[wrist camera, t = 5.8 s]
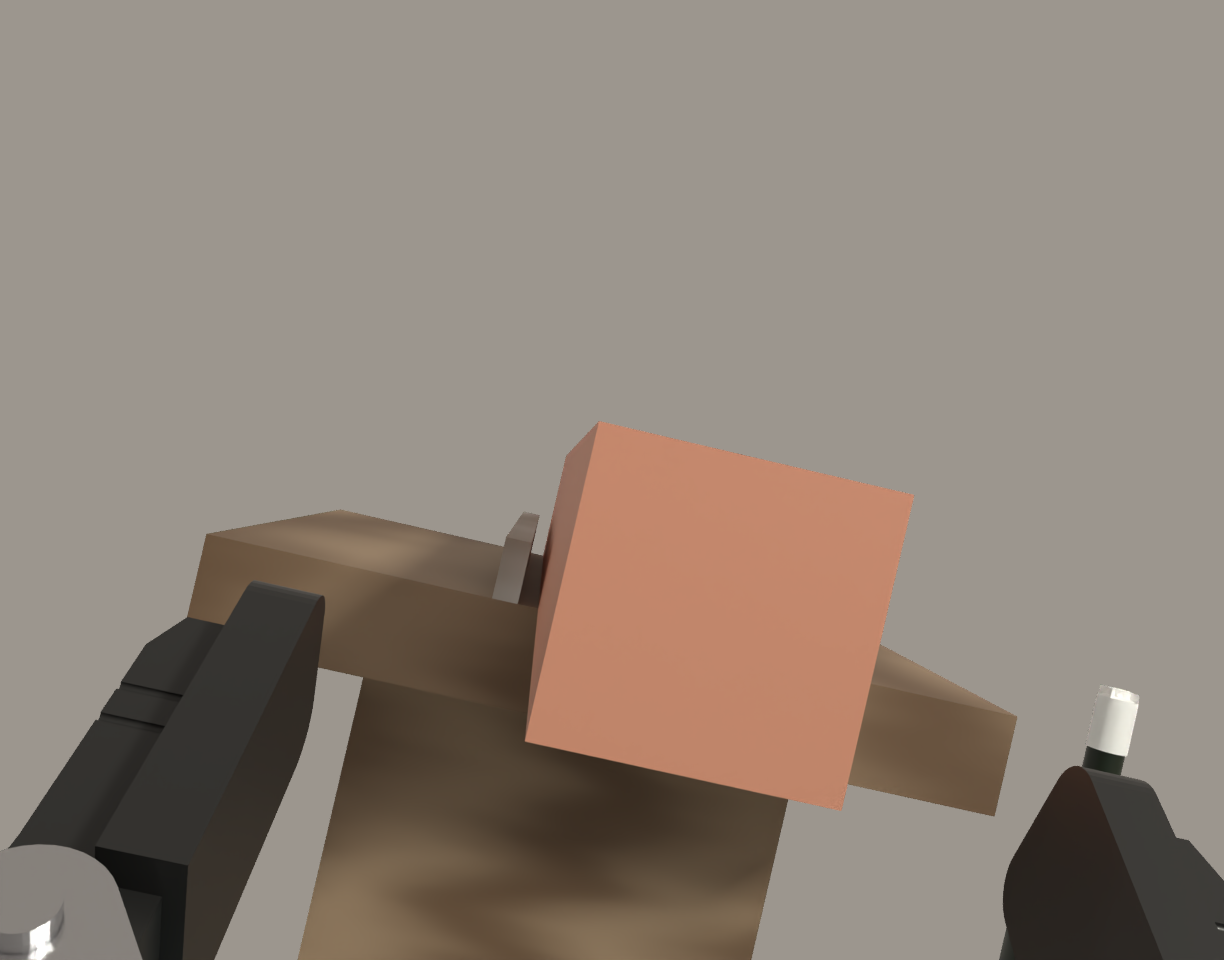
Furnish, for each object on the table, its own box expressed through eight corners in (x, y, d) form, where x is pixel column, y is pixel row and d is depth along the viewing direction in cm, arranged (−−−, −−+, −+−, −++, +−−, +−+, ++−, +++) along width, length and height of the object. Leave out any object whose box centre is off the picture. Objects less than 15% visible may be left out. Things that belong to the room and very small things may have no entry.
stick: (640, 575, 38) (663, 478, 38) (840, 811, 12) (914, 495, 12) (543, 553, 37) (565, 455, 37) (525, 741, 11) (598, 421, 11)
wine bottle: (1023, 1275, 60) (1154, 703, 60) (924, 1208, 64) (1047, 673, 64) (1069, 1241, 64) (1192, 706, 64) (973, 1180, 68) (1089, 677, 68)
